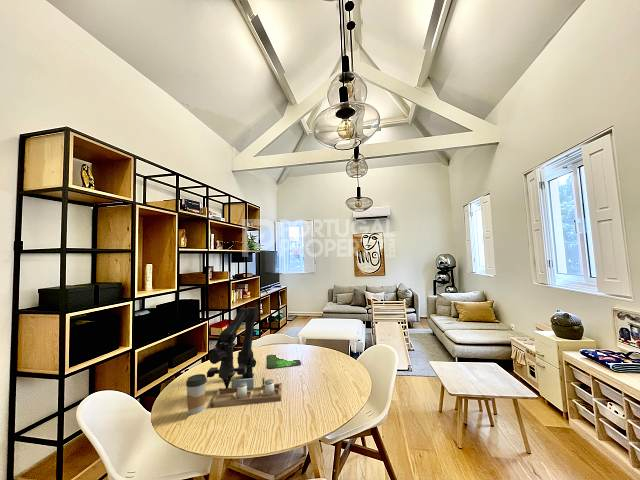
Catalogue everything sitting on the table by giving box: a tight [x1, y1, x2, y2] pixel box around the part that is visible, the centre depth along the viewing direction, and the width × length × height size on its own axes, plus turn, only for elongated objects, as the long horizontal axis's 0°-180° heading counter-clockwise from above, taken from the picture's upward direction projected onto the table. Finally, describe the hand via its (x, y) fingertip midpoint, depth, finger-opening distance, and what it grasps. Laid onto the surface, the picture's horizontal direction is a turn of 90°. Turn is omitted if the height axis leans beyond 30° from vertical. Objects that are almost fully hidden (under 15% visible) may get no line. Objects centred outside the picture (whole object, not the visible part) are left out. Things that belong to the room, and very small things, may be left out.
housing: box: [210, 377, 283, 408], centre depth 126 cm, size 16×31×6 cm, turn 97°
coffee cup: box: [185, 373, 207, 416], centre depth 115 cm, size 8×8×15 cm
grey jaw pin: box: [264, 378, 275, 397], centre depth 126 cm, size 4×4×7 cm
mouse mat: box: [266, 354, 302, 370], centre depth 176 cm, size 27×22×1 cm
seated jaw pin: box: [237, 382, 247, 399], centre depth 124 cm, size 4×4×7 cm
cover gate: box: [230, 377, 255, 389], centre depth 134 cm, size 2×11×4 cm, turn 97°
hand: (227, 388), depth 133 cm, fingers closed
